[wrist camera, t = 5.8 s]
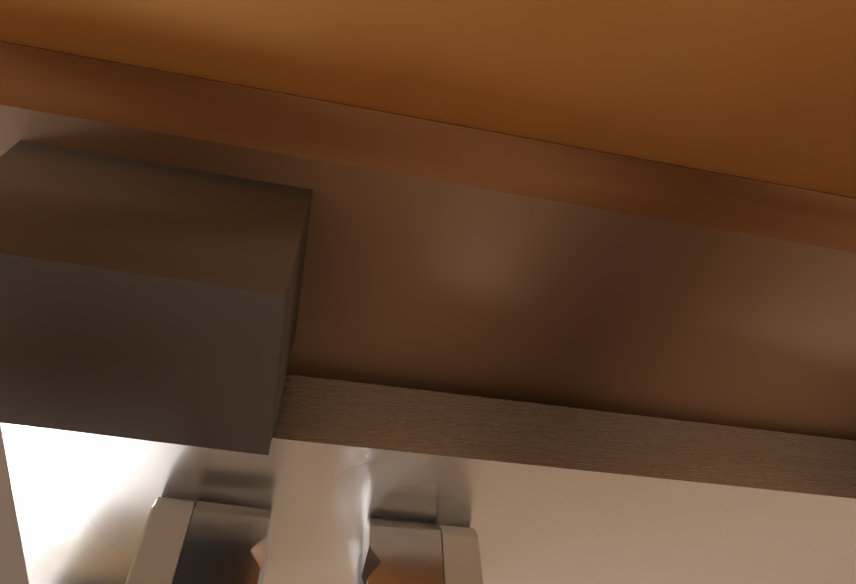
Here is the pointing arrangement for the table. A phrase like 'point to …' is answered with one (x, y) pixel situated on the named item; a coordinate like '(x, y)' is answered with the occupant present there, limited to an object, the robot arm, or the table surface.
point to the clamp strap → (460, 491)
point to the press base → (384, 268)
